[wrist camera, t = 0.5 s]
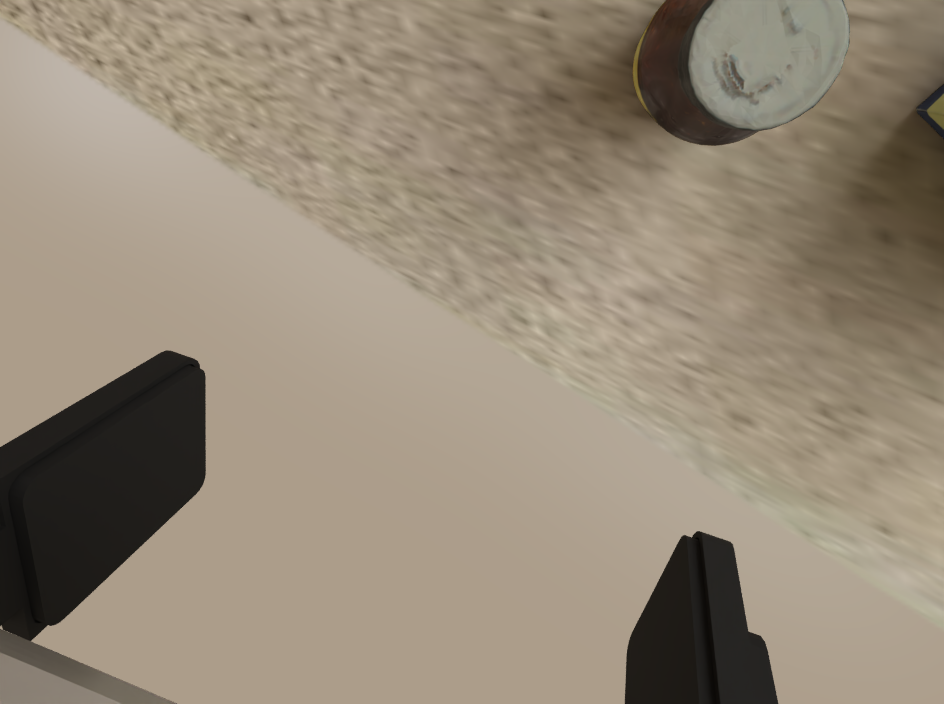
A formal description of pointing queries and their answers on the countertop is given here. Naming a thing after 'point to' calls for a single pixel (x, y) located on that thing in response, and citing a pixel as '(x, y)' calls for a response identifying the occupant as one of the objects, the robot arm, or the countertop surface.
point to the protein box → (934, 111)
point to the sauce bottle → (737, 64)
